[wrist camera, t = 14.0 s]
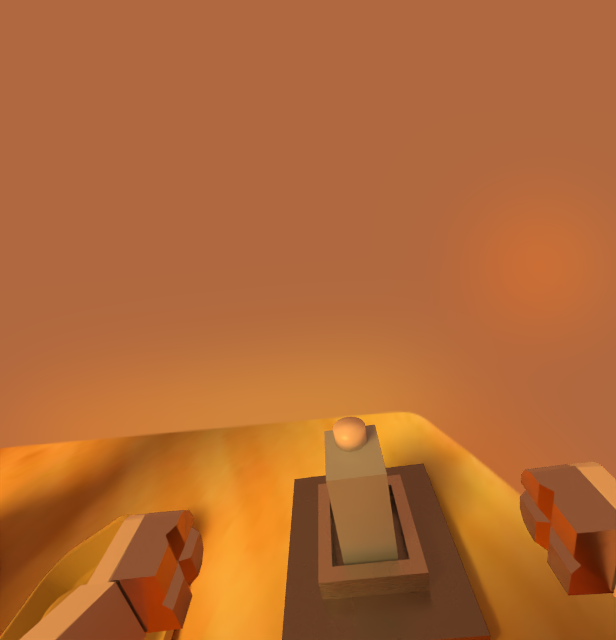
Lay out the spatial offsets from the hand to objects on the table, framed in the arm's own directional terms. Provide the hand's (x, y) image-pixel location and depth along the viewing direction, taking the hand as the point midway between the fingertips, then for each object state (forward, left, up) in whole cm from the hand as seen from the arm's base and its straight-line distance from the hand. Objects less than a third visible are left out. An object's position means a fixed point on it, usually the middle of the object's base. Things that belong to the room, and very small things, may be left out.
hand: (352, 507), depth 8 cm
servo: (0, +14, -19) cm, 24 cm away
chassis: (0, +14, -21) cm, 25 cm away
